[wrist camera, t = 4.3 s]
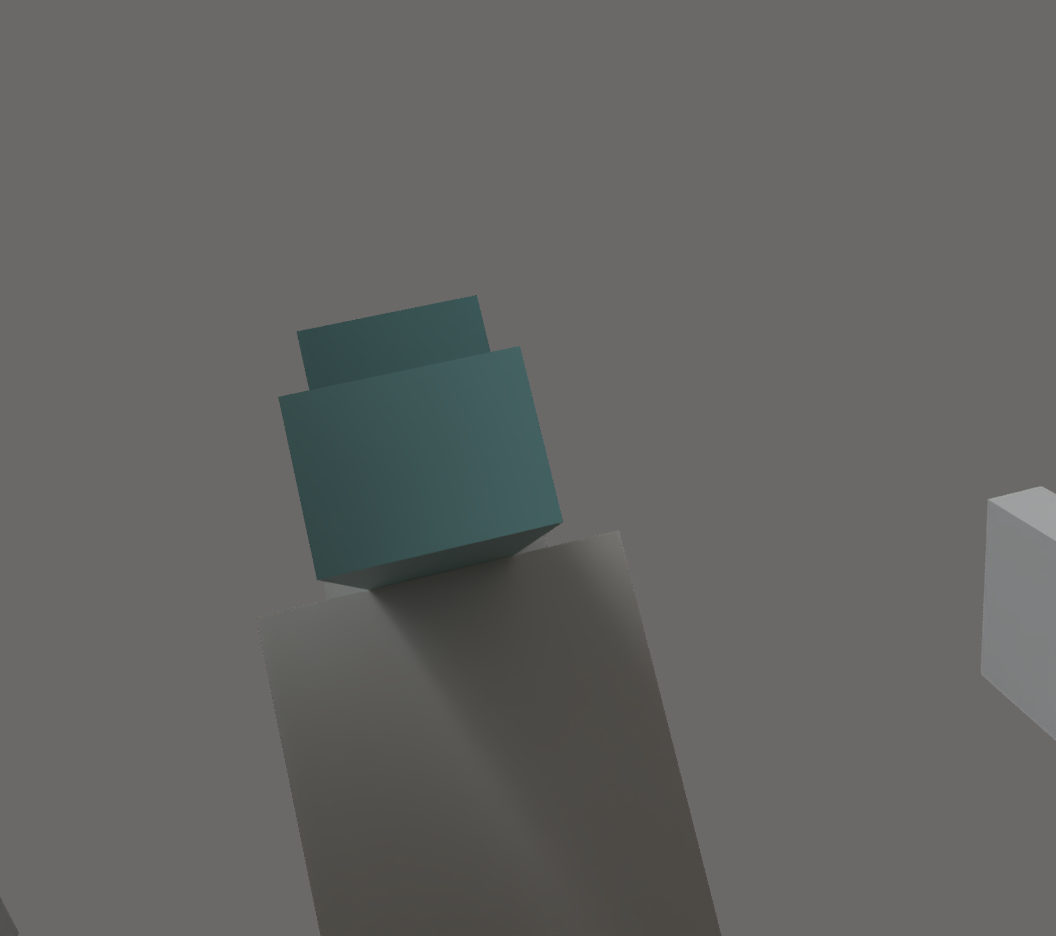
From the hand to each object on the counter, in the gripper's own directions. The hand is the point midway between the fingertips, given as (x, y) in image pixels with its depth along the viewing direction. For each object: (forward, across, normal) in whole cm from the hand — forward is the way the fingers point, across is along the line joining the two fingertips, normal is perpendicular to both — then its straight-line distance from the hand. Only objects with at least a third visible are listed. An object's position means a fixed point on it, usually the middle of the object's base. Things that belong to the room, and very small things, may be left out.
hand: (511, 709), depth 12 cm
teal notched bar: (+15, 0, -6) cm, 16 cm away
